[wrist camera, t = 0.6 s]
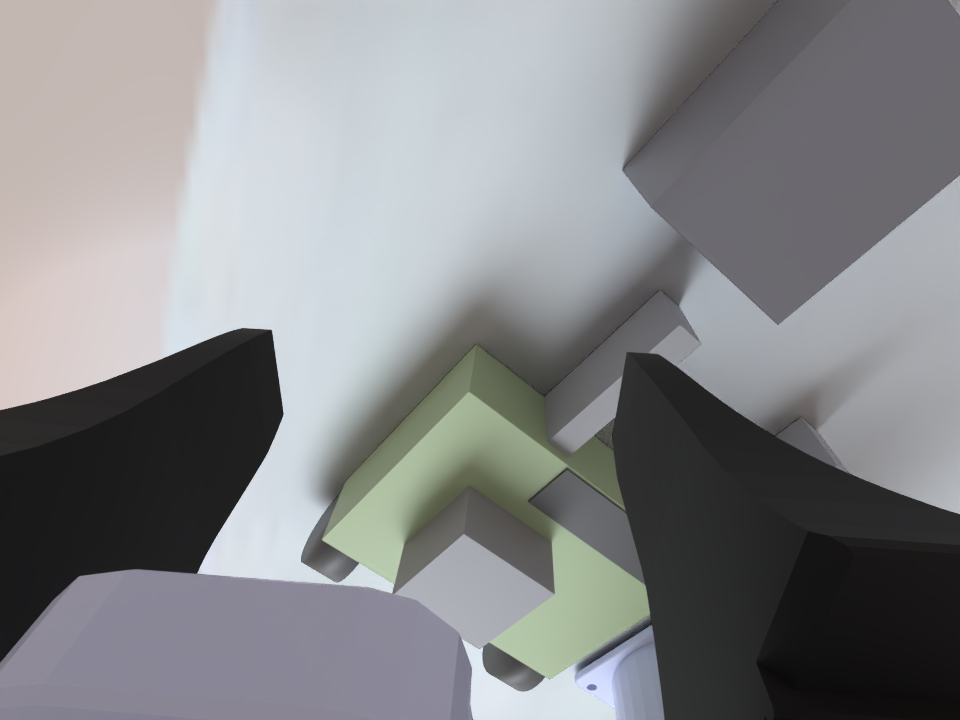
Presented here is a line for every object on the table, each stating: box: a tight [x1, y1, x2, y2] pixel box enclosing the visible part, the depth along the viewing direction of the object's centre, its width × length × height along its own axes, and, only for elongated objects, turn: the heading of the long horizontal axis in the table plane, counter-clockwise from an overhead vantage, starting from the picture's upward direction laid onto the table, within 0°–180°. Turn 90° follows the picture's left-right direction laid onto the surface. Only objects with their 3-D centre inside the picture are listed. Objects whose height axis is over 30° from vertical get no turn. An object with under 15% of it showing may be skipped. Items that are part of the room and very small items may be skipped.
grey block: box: [622, 0, 960, 325], centre depth 16 cm, size 5×7×5 cm
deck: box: [301, 290, 849, 691], centre depth 23 cm, size 12×18×6 cm
